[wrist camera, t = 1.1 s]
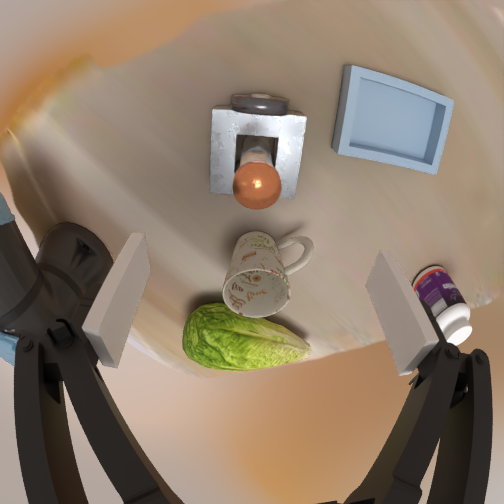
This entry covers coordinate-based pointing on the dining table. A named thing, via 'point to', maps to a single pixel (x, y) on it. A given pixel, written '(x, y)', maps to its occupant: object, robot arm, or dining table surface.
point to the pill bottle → (444, 303)
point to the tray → (390, 120)
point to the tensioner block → (260, 124)
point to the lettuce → (238, 340)
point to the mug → (260, 275)
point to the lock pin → (256, 175)
